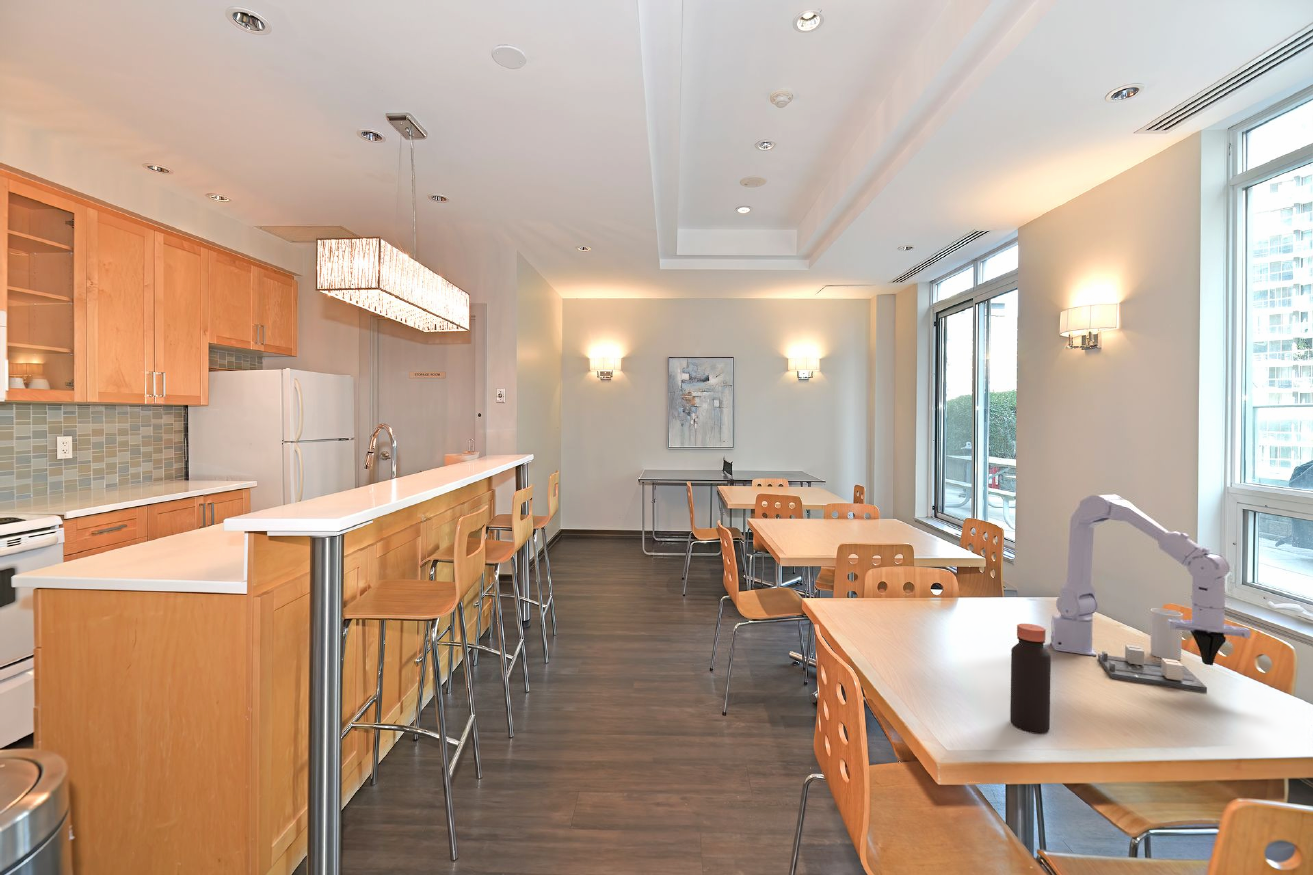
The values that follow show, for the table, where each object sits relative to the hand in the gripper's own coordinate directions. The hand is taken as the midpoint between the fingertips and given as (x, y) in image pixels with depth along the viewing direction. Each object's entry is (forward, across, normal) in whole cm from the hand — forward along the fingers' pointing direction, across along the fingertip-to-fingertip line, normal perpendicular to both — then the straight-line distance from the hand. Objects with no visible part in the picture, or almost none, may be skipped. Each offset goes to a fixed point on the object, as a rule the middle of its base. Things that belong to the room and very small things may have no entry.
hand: (1207, 663), depth 144 cm
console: (+6, -10, +4) cm, 12 cm away
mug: (+6, -2, +24) cm, 25 cm away
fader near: (+4, -7, 0) cm, 8 cm away
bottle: (+6, -40, -42) cm, 58 cm away
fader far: (+4, -12, +8) cm, 15 cm away
